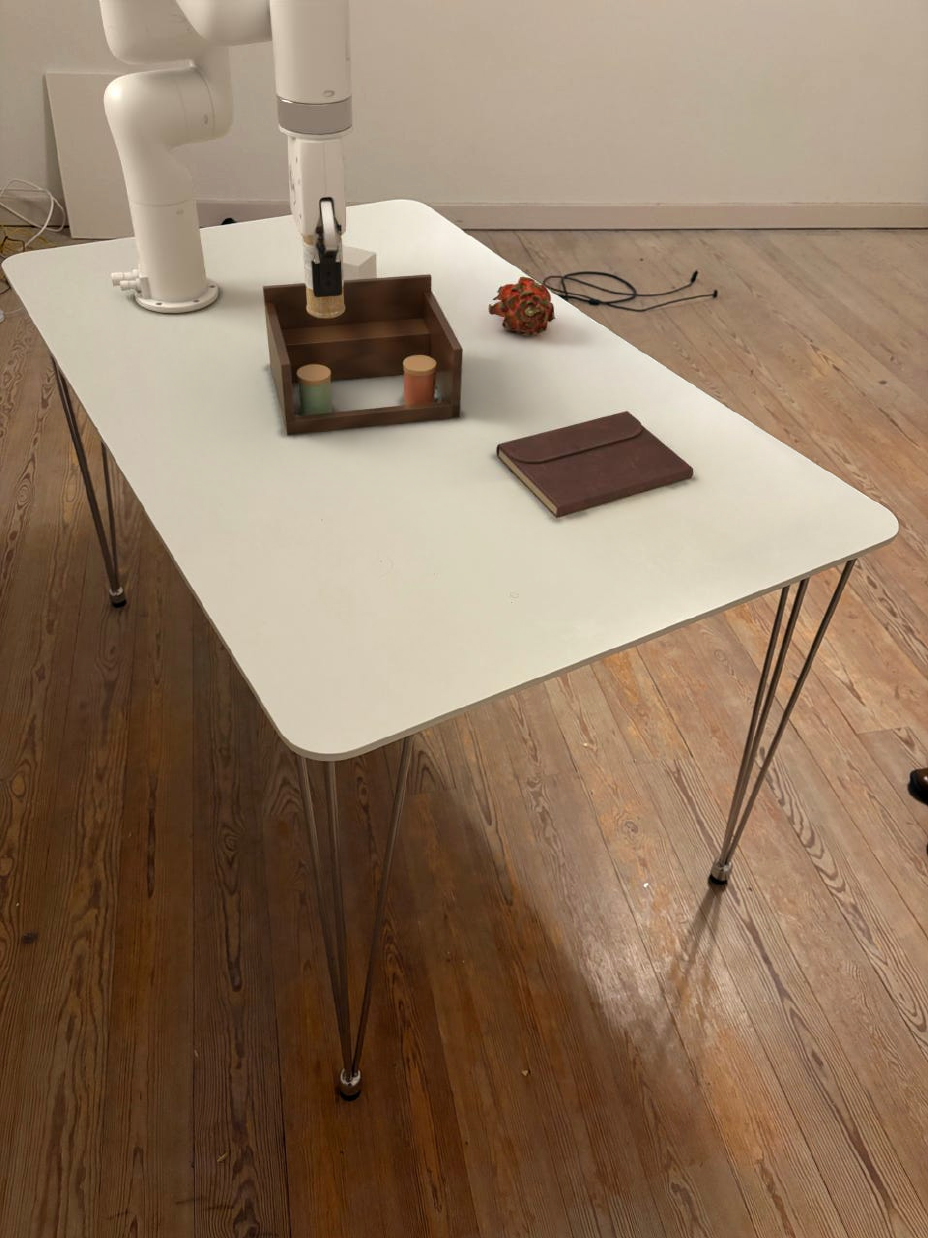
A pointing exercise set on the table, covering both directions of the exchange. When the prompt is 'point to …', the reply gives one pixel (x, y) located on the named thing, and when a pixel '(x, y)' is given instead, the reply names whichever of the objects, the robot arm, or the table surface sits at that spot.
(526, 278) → the dragon fruit
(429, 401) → the terracotta jar
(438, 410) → the spice rack
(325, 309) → the sprinkles bottle
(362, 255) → the light grey cube
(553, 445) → the notebook
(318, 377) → the sage jar
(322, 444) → the table surface
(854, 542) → the table surface
